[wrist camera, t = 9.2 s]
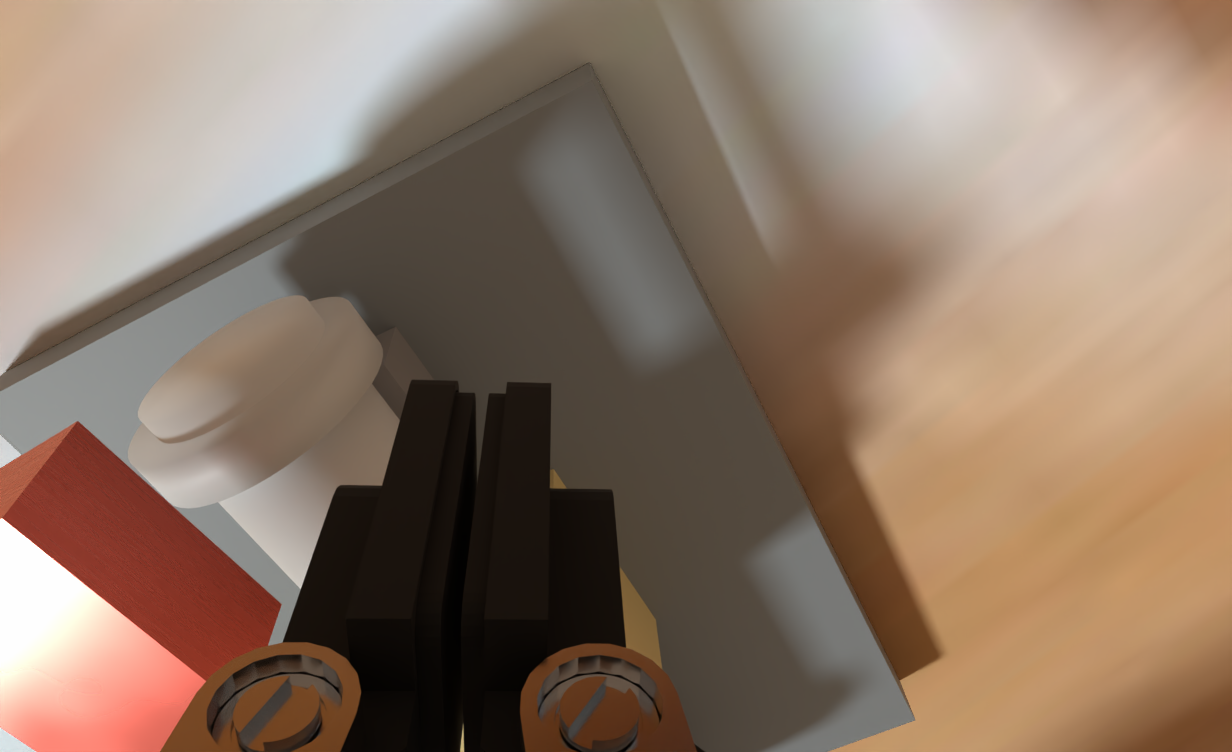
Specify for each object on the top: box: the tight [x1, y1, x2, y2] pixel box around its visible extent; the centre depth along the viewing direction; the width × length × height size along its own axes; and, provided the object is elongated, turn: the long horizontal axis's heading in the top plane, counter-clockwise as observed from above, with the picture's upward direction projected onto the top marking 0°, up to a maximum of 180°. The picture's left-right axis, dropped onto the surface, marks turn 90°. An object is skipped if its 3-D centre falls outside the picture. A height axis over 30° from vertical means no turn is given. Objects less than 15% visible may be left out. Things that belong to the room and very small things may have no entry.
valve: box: [0, 63, 915, 752], centre depth 23 cm, size 22×16×9 cm
